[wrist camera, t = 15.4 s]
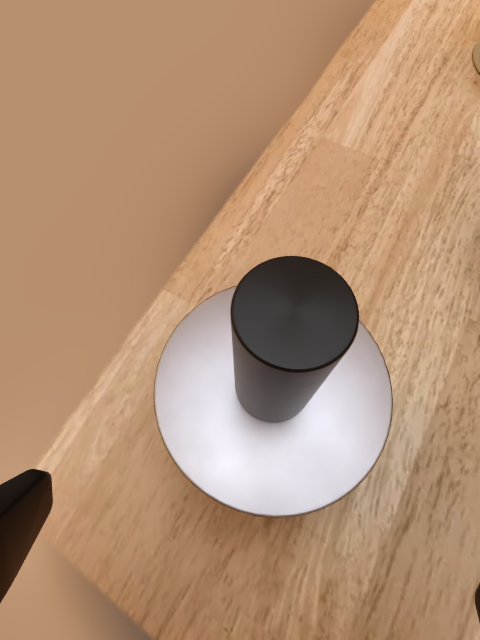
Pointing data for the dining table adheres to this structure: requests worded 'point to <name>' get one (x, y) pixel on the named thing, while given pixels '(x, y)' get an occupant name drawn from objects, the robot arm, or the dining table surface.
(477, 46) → the can
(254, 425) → the lid
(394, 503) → the dining table surface
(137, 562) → the dining table surface
